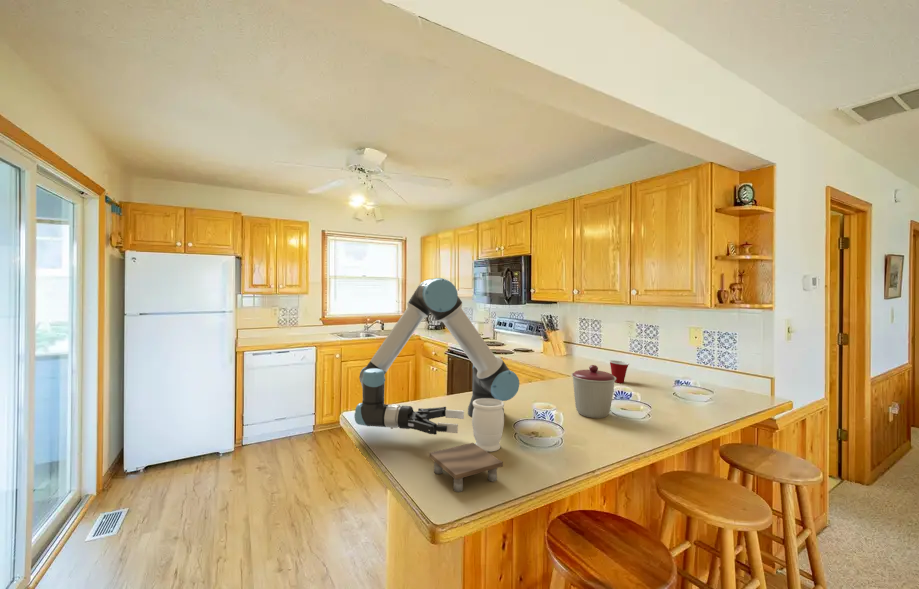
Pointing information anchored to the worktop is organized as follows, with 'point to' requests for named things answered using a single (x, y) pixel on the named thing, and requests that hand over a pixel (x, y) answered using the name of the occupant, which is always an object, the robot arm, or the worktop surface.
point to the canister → (593, 392)
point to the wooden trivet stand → (465, 463)
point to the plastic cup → (618, 370)
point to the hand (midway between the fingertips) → (460, 421)
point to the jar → (488, 423)
